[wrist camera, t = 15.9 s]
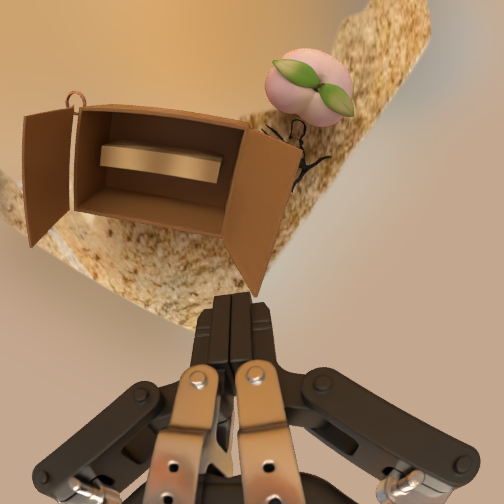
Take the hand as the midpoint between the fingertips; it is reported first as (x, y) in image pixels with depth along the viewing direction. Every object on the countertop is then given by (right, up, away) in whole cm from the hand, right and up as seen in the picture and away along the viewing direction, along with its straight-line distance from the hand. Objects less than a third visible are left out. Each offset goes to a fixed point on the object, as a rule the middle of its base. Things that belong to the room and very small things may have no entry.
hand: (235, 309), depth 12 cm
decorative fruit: (+7, +22, +17) cm, 29 cm away
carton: (-10, +15, +20) cm, 27 cm away
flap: (+1, +6, +10) cm, 12 cm away
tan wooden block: (-10, +15, +20) cm, 27 cm away
